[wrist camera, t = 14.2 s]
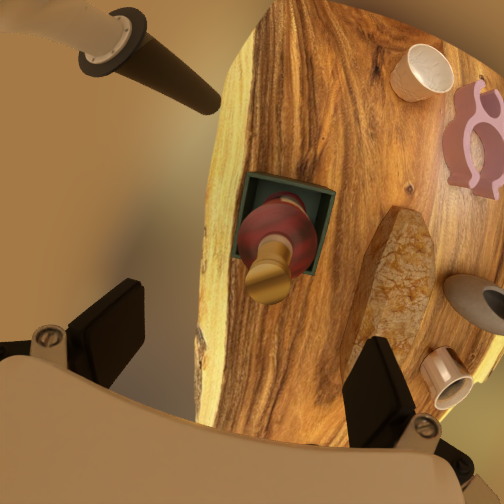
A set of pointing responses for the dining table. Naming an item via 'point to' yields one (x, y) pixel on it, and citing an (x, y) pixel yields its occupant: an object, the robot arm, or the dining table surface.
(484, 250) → the dining table surface
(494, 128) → the clip
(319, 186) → the green square box
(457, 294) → the planter
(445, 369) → the mug
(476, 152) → the dining table surface
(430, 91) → the white cup
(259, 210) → the liquor
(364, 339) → the bread
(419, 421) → the robot arm
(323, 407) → the dining table surface
